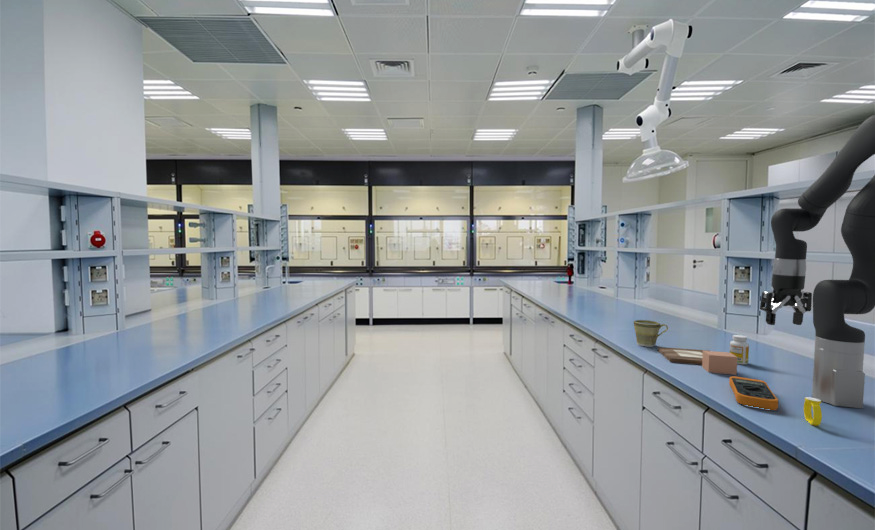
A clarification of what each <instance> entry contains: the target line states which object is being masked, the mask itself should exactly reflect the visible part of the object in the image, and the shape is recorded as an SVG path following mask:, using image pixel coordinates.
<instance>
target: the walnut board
mask: <svg viewBox="0 0 875 530" xmlns="http://www.w3.org/2000/svg"><path fill="white" fill-rule="evenodd" d="M657 351H658V353H660V354H661V355H662V356H663V357H664V359H666V360H667V361H668V360H669V361H670V363H675V362H676V363H677V364H688V365H689V364H690V365H700V366H702V356H703V351H710V350H709V349H708V350H707V349H692V348H691V349H690V348H679V347H665V346H658V347H657ZM669 361H668V362H669ZM676 363H675V364H676Z"/></svg>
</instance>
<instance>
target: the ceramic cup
mask: <svg viewBox="0 0 875 530" xmlns="http://www.w3.org/2000/svg"><path fill="white" fill-rule="evenodd" d="M633 326H634V331H635V338H636V344H637V345H638V346H639V345H640V347H643V346H645V347H644V348H654V347H653V346H655V347H656V343H657V340H658V337H659V336H661V335H663V333H664V334H665V332H667V331H668V330H669V327H668V325H667V324H664V323H662V324H661V322H659V321H656V320H651V319H649V320H647V319H635V320H633ZM662 327H666V329H665V330H664V331H661V332H660V333H659V331H660V329H661V328H662Z"/></svg>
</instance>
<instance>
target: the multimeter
mask: <svg viewBox="0 0 875 530" xmlns="http://www.w3.org/2000/svg"><path fill="white" fill-rule="evenodd" d="M728 381H729V382H728V383H729V387H731V390H732V393H733V395H734V398H735V401H736V402H737V403H738V404H739V403H740V404H743V405H748V406H753V407H759V408H764V409H770V410H775V411H776V410H778V408H779V399H778V397H776V395H775V394H774V393H773V391H772V389H771V388H770V387H769V385H768V383H767V382H766V381H765V380H760V379H755V378H748V377H741V376H736V375H735V376H733V375H732V376H729V380H728ZM740 404H739V405H740ZM743 405H742V406H743Z"/></svg>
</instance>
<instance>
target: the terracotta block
mask: <svg viewBox="0 0 875 530" xmlns="http://www.w3.org/2000/svg"><path fill="white" fill-rule="evenodd" d="M702 367H703V368H702ZM701 368H702V369H703V370H704V371H706V372H707V371H708V372H707V373H710V372H713V374H722V373H723V374H724V375H725V374H726V375H735V376H737V374H738V364H737V357H736V356H735V355H733V354H731V353H730V352H726V351H715V350H714V351H711V350H709V351H703V356H702V365H701ZM723 374H722V375H723Z"/></svg>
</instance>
